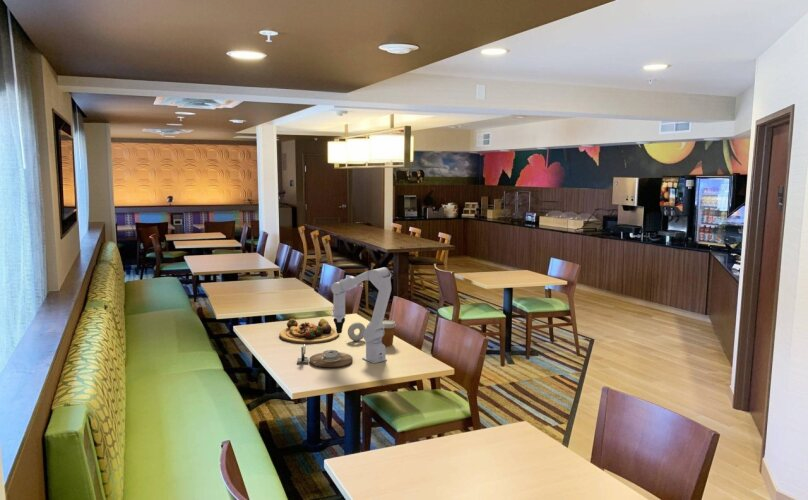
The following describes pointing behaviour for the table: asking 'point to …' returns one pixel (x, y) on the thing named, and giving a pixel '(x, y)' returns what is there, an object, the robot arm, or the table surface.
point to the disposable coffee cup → (388, 332)
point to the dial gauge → (303, 359)
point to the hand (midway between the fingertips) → (339, 332)
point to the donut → (352, 327)
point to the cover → (330, 355)
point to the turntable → (341, 361)
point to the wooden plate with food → (308, 332)
